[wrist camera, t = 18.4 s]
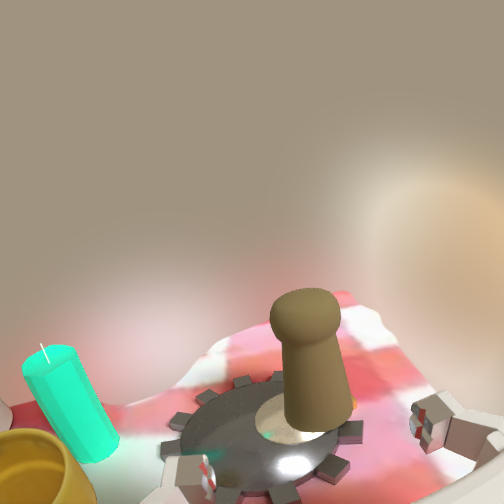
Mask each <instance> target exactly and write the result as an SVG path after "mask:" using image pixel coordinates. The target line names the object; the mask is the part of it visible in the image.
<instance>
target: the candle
mask: <svg viewBox="0 0 504 504" xmlns="http://www.w3.org/2000/svg"><path fill="white" fill-rule="evenodd" d="M40 345H41V347H42V350H41V351H39V352H37V353H35V354H34V355H32V356H30V357H28V358H27V359H26V361H25V362H24V363H23V365H22V372H23V376H24V378H25V380H26V382H27V384H28V386H29V388H30V390H31V392H32V394H33V395H34V397H35V399H36V401H37V403H38V404H39V406H40V408H41V410H42V411H43V413H44V415H45V416H46V418H47V420H48V421H49V423H50V424H51V426H52V428H53V429H54V431H55V432H56V434H57V435H58V437H59V438H60V440H61V441H62V442H63V443H64V444H65V445H66V447H67V448H68V449H69V451H70V452H71V454H72V455H73V457H74V458H75V459H76V460H77V461H79V462H81V463H96V462H99V461H101V460H103V459H105V458H107V457H109V456H110V455H111V454H112V453H113V452H114V451H115V450H116V449H117V448H118V444H119V439H120V437H119V435H118V433H117V432H116V430H115V428H114V427H113V425H112V423H111V421H110V420H109V418H108V416H107V414H106V412H105V410H104V409H103V407H102V405H101V403H100V401H99V399H98V398H97V395H96V393H95V391H94V389H93V387H92V385H91V383H90V381H89V379H88V377H87V375H86V373H85V371H84V368H83V366H82V364H81V362H80V359H79V357H78V355H77V353H76V350H75V349H74V348H73V347H70V346H67V345H50V346H48V347H47V348H43V346H42V343H40Z"/></svg>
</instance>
